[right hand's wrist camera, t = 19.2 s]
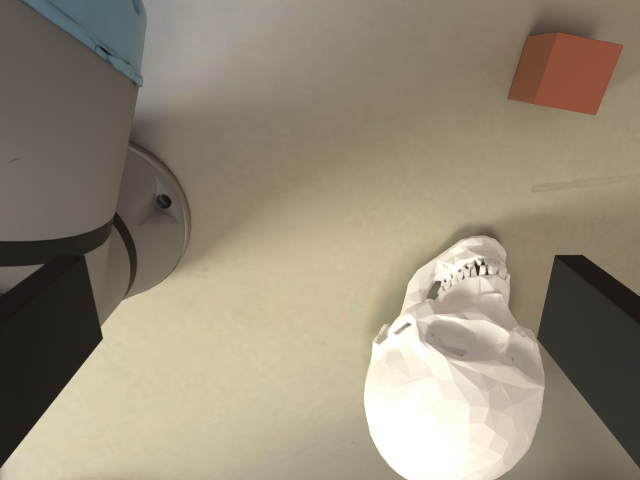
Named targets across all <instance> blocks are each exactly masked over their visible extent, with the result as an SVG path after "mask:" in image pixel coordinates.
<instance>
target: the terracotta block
mask: <svg viewBox="0 0 640 480" xmlns="http://www.w3.org/2000/svg"><path fill="white" fill-rule="evenodd" d="M622 47H623V45H619V44H614V43H609V42H605V41H600V40H595V39H590V38H585V37H580V36H575V35H570V34H565V33H560V32H556V33H549V34H541V35H534V36H528V37H527V40H526V43H525V46H524V50H523V53H522V56H521V59H520V62H519V65H518V68H517V71H516V75H515V78H514V81H513V84H512V87H511V90H510V93H509V96H508V99H511V100H516V101H521V102H526V103H532V104H537V105H542V106H547V107H553V108H558V109H563V110H569V111H574V112H579V113H585V114H590V115H596V113H597V111H598V108H599V106H600V103H601V100H602V98H603V95H604V93H605V90H606V88H607V85H608V83H609V80H610V78H611V75H612V73H613V70H614V68H615V65H616V63H617V60H618V58H619V55H620V53H621V50H622Z"/></svg>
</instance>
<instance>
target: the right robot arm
mask: <svg viewBox="0 0 640 480" xmlns="http://www.w3.org/2000/svg"><path fill="white" fill-rule="evenodd" d="M146 21H147V20H146V12H145V8H144V5H143V2H142V0H0V468H1V467H2V466H3V464H4V463H5V462H6V460H7V459H8V458H9V457H10V455H11V454H12V453H13V452H14V450H15V449H16V448H17V447H18V445H19V444H20V443H21V442H22V440H23V439H24V438H25V436H26V435H27V434H28V433H29V431H30V430H31V429H32V428H33V426H34V425H35V424H36V423H37V421H38V420H39V419H40V418H41V416H42V415H43V414H44V412H45V411H46V410H47V409H48V407H49V406H50V405H51V404H52V402H53V401H54V400H55V399H56V397H57V396H58V395H59V393H60V392H61V391H62V390H63V388H64V387H65V386H66V385H67V383H68V382H69V381H70V380H71V378H72V377H73V376H74V375H75V373H76V372H77V371H78V369H79V368H80V367H81V366H82V364H83V363H84V362H85V361H86V359H87V358H88V357H89V356H90V354H91V353H92V352H93V351H94V349H95V348H96V347H97V345H98V344H99V343H100V342H101V340H102V339H103V336H102V332H101V326H102V324H103V323H104V322H105V321H106V320H107V318H108V317H109V316H110V315H111V313H112V312H113V311H114V310H115V309H116V307H117V306H118V305H119V304H120V302H121V301H122V300H125V299H127V298H129V297H131V296H134V295H136V294H139V293H142V292H144V291H147V290H149V289H150V288H152V287H154V286H156V285H157V284H159V283H160V282H162V281H163V280H164V279H165V278H166V277H167V276H168V275H169V274H170V273H171V272H172V271H173V270H174V268H175V267H176V266H177V264H178V263H179V261H180V260H181V258H182V257H183V255H184V253H185V251H186V248H187V245H188V242H189V237H190V229H191V220H190V212H189V208H188V204H187V201H186V198H185V196H184V193H183V191H182V189H181V187H180V185H179V184H178V182H177V181H176V179H175V178H174V176H173V175H172V174H171V172H170V171H169V170H168V169H167V168H166V167H165V166H164V165H163V164H162V163H161V162H160V161H159V160H158V159H157V158H155V157H154V156H153V155H151V154H150V153H149V152H147V151H146V150H144V149H142V148H141V147H139V146H137V145H135V144H132V143H130V142H129V137H130V132H131V126H132V121H133V116H134V111H135V105H136V100H137V95H138V90H139V87H142V85H143V78H142V75H141V74H140V71H141V63H142V55H143V47H144V40H145V32H146ZM537 339H538V340H539V342H540V343H541V344H542V345H543V347H544V348H545V349H546V351H547V352H548V353H549V354H550V356H551V357H552V358H553V359H554V361H555V362H556V363H557V364H558V366H559V367H560V368H561V369H562V371H563V372H564V373H565V375H566V376H567V377H568V378H569V380H570V381H571V382H572V383H573V385H574V386H575V387H576V388H577V390H578V391H579V392H580V393H581V395H582V396H583V397H584V399H585V400H586V401H587V402H588V404H589V405H590V406H591V407H592V409H593V410H594V411H595V412H596V414H597V415H598V416H599V418H600V419H601V420H602V421H603V423H604V424H605V425H606V426H607V428H608V429H609V430H610V431H611V433H612V434H613V435H614V436H615V438H616V439H617V440H618V442H619V443H620V444H621V445H622V447H623V448H624V449H625V450H626V452H627V453H628V454H629V455H630V457H631V458H632V459H633V460H634V462H635V463H636V464H637V466H638V467H639V468H640V296H638V295H637V294H636V293H634V292H633V291H631V290H630V289H629V288H627V287H626V286H624V285H623V284H622V283H620V282H619V281H618V280H616V279H615V278H613V277H612V276H611V275H609V274H608V273H607V272H605V271H604V270H602V269H601V268H600V267H598V266H597V265H596V264H594V263H593V262H591V261H590V260H589V259H587V258H586V257H585V256H583V255H555V258H554V263H553V267H552V272H551V277H550V281H549V286H548V290H547V295H546V300H545V304H544V309H543V313H542V318H541V323H540V327H539V332H538V336H537Z"/></svg>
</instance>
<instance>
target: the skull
mask: <svg viewBox="0 0 640 480" xmlns="http://www.w3.org/2000/svg"><path fill="white" fill-rule="evenodd" d="M482 262H485V265H488V266H487V268H488V273H489V275H484V274H485V273H486V266H484V265H480V264H481V263H482ZM505 262H506V251H505V249H504V248H503V247H502V246H501V245H500V244H499V243H498V241H497V240H496V239H494V238H491V237H488V236H484V235H482V236H471V237H468V238H465V239H461V240H460V241H458V242H457V243H456V244H454V245H453V246H452V247H450V248H449V249H447V250H446V251H445V252H443V253H442V254H440V255H439V256H437V257H436V258H435V259H433V260H432V261H430V262H429V263H427V264H426V265H424V266H423V267H422V268H420V269H419V270H417V271H416V273H415V274H414V276H413V277H412V279H411V280H410V282H409V283H408V287H407V291H406V296H405V300H404V303H403V307H402V311H401V313H400V316H399V317H398V318H397V319H396V320H395V322H394V323H393V324H392V325H390V324H384V325H383V327H382V328H381V330H380V333H379V334H378V335H377V336H376V337H375V338H374V339H373V348H372V358H371V363H370V366H369V370H368V373H367V378H366V383H365V397H364V404H365V410H366V416H367V420H368V425H369V429H370V433H371V436H372V438H373V441H374V443H375V445H376V447H377V448H378V450H379V452H380V454H381V455H382V456H383V457H384V459H385V460H386V461H387V463H388V464H389V465H390V466H391V467H392V468H393V469H394V470H395V471H396V472H397V473H399V474H400V475H402V476H403V477H405V478H406V479H408V480H494V479H496V478H498V477H499V476H501V475H502V474H504V473H505V472H507V471H508V470H510V469H511V468H512V467H513V466H514V465H515V464H516V463H517V462H518V461H519V460H520V459H521V457H522V456H523V455H524V454H525V453H526V452H527V450H528V449H529V447H530V445H531V442H532V440H533V437H534V434H535V431H536V428H537V425H538V422H539V419H540V415H541V412H542V402H543V393H544V388H545V381H544V380H545V375H544V370H543V365H542V359H541V356H540V352H539V348H538V343H537V340H536V337H535V335H534V333H533V331H532V330H530V329H527V328H525V327H523V326H520V325H518V324H517V322H516V320H515V319H514V317H513V315H512V313H511V312H510V310H509V308H508V303H509V297H510V274H509V273H507V268H506V265H505ZM475 263H477V265H478V266H479V265H480V272H479V275H477V274H476V269H475V266H474V264H475ZM467 266H468V267H469V268H468V269H466V268H465V267H467ZM470 270H471V277H470ZM452 276H453V278H452ZM463 276H464V277H465V279H463V280H462V278H463ZM446 279H447V280H446ZM445 280H446V282H445ZM436 281H442V282H441V287H440V289H439V291H438V292H437V294H438V295H439V296H438V297H437V298H436V299H435V300H433V299H429V298H428V299H427V300H426V298H427V296H428V294H429V292H430V289H431V287H432V286H433V284H434V283H435V282H436ZM408 323H411V325H410V326H409V327H407V324H408Z"/></svg>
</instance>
